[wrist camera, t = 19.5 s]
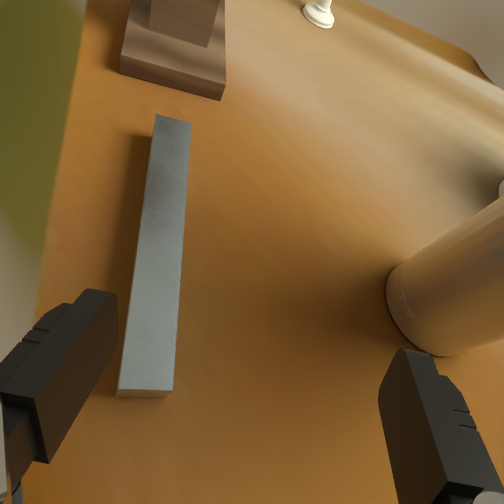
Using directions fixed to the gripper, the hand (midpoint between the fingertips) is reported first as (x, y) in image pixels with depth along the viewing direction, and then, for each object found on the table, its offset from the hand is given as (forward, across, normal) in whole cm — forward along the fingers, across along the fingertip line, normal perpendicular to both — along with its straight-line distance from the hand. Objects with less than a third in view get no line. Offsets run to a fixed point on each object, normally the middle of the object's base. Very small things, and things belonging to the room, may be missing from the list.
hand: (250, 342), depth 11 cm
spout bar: (+17, +8, +8) cm, 20 cm away
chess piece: (+59, -2, -10) cm, 59 cm away
